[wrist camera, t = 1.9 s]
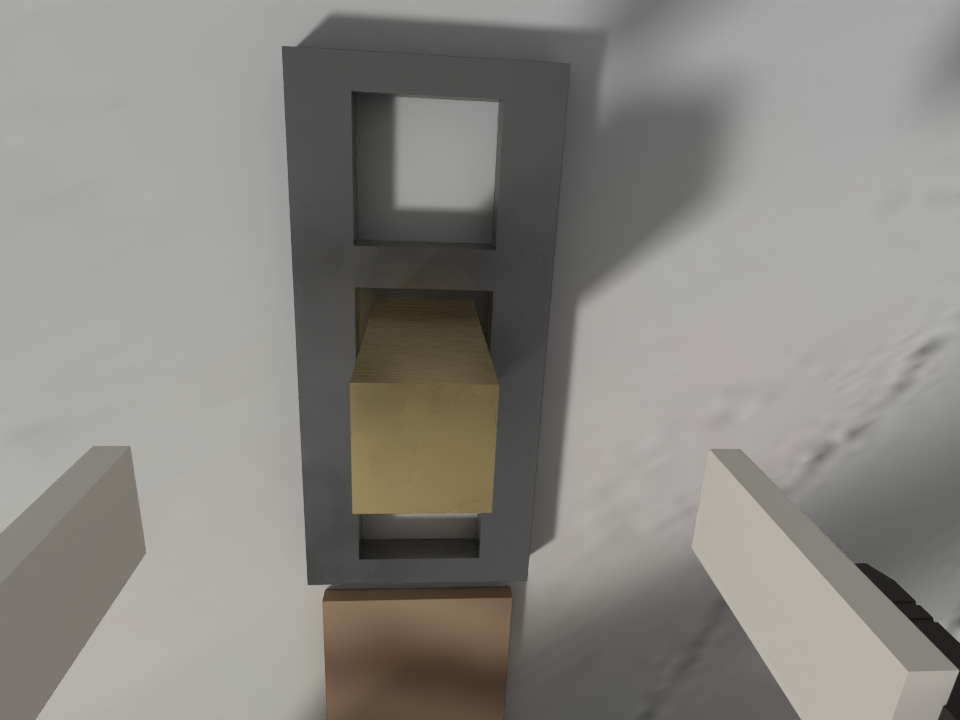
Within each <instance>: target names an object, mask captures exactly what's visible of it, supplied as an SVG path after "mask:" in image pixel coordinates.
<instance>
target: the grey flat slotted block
mask: <svg viewBox="0 0 960 720" xmlns="http://www.w3.org/2000/svg"><path fill="white" fill-rule="evenodd" d="M282 59H283V79H284V100H285V121H286V142H287V163H288V183H289V204H290V225H291V246H292V267H293V287H294V308H295V329H296V350H297V371H298V391H299V412H300V433H301V454H302V475H303V495H304V516H305V537H306V558H307V579H308V585H327V584H384V583H441V582H498V581H527V576H528V564H529V552H530V540H531V528H532V516H533V504H534V492H535V480H536V468H537V456H538V444H539V432H540V420H541V408H542V396H543V384H544V372H545V360H546V348H547V336H548V324H549V312H550V300H551V288H552V276H553V264H554V252H555V240H556V228H557V216H558V204H559V192H560V180H561V168H562V156H563V144H564V132H565V120H566V108H567V95H568V83H569V71H570V64H565V63H549V62H533V61H517V60H501V59H484V58H468V57H452V56H436V55H420V54H403V53H387V52H371V51H355V50H339V49H322V48H306V47H290V46H282ZM355 94H363V95H381V96H399V97H417V98H435V99H453V100H471V101H489V102H499V114H498V133H497V153H496V172H495V191H494V211H493V230H492V244H463V243H433V242H404V241H374V240H358V238H357V172H356V106H355ZM358 287H360V288H397V289H435V290H473V291H489V307H488V327H487V347H488V350H489V353H490V356H491V359H492V363H493V366H494V369H495V372H496V375H497V378H498V381H499V401H498V418H497V435H496V452H495V468H494V485H493V502H492V513H478V520H477V539H406V540H362V514H352V469H351V421H350V380H351V377H352V373H353V370H354V367H355V363H356V360H357V357H358V354H359V304H358Z"/></svg>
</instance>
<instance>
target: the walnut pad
mask: <svg viewBox="0 0 960 720" xmlns="http://www.w3.org/2000/svg"><path fill="white" fill-rule="evenodd" d="M322 602H323V627H324V653H325V678H326V703H327V720H503V717H504V704H505V690H506V677H507V664H508V650H509V637H510V624H511V610H512V593H511V588H510V587H475V588H421V589H367V590H325V592H324V597H323V601H322Z"/></svg>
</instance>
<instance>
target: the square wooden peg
mask: <svg viewBox="0 0 960 720" xmlns="http://www.w3.org/2000/svg"><path fill="white" fill-rule="evenodd" d="M498 401H499V381H498V378H497V375H496V372H495V369H494V366H493V363H492V359H491V356H490V353H489V350H488V347H487V344H486V341H485V337H484V334H483V331H482V328H481V325H480V322H479V319H478V316H477V312H476V309H475V306H474V303H473V300H472V299H454V298H415V297H375V300H374V304H373V307H372V310H371V314H370V317H369V320H368V324H367V327H366V330H365V334H364V337H363V340H362V344H361V347H360V350H359V354H358V357H357V360H356V363H355V367H354V370H353V373H352V377H351V380H350V421H351V469H352V514H415V513H492V502H493V485H494V468H495V452H496V435H497V418H498Z"/></svg>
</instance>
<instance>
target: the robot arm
mask: <svg viewBox="0 0 960 720" xmlns="http://www.w3.org/2000/svg"><path fill="white" fill-rule="evenodd" d="M691 548H692V549H693V551H694V553H695V554H696V556H697V557H698V559H699V560H700V562H701V563H702V565H703V567H704V568H705V570H706V571H707V573H708V574H709V576H710V578H711V579H712V581H713V582H714V584H715V585H716V587H717V589H718V590H719V592H720V593H721V595H722V596H723V598H724V600H725V601H726V603H727V604H728V606H729V607H730V609H731V610H732V612H733V614H734V615H735V617H736V618H737V620H738V621H739V623H740V625H741V626H742V628H743V629H744V631H745V632H746V634H747V636H748V637H749V639H750V640H751V642H752V643H753V645H754V647H755V648H756V650H757V651H758V653H759V654H760V656H761V657H762V659H763V661H764V662H765V664H766V665H767V667H768V668H769V670H770V672H771V673H772V675H773V676H774V678H775V679H776V681H777V683H778V684H779V686H780V687H781V689H782V690H783V692H784V694H785V695H786V697H787V698H788V700H789V701H790V703H791V704H792V706H793V708H794V709H795V711H796V712H797V714H798V715H799V717H800V719H801V720H960V643H959V642H958V641H957V640H956V639H955V638H954V637H953V636H952V635H950V634H949V633H948V632H947V631H946V630H945V629H944V628H943V627H942V626H941V625H940V624H939V623H938V622H934V621H933V617H932V616H931V615H930V614H929V613H928V612H926V611H925V610H924V609H923V608H922V607H921V606H920V605H916V601H915V600H914V599H913V598H912V597H911V596H910V595H909V594H908V593H907V592H906V591H905V590H904V589H903V588H901V587H900V586H899V585H898V584H897V583H896V582H895V581H894V580H892V579H891V578H889V577H887V576H886V575H884V574H883V573H881V572H879V571H878V570H876V569H874V568H873V567H871V566H870V565H868V564H866V563H861V564H854V563H853V562H852V561H851V560H850V559H849V558H848V557H847V556H846V555H845V554H844V553H843V552H842V551H841V550H840V549H839V548H838V547H837V546H836V545H835V544H834V543H833V542H832V541H831V540H830V539H829V538H828V537H827V536H826V535H825V534H824V533H823V532H822V531H821V530H820V529H819V528H818V527H817V526H816V525H815V524H814V523H813V522H812V521H811V520H810V519H809V518H808V517H807V516H806V515H805V514H804V513H803V512H802V511H801V510H800V509H799V508H798V507H797V506H796V505H795V504H794V503H793V502H792V501H791V500H790V499H789V498H788V497H787V496H786V495H785V494H784V493H783V492H782V491H781V490H780V489H779V488H778V487H777V486H776V485H775V484H774V483H773V482H772V481H771V480H770V479H769V478H768V477H767V476H766V475H765V474H764V473H763V471H762V470H761V469H760V468H759V467H758V466H757V465H756V464H755V463H754V462H753V461H752V460H751V459H750V458H749V457H748V456H747V455H746V454H745V453H744V452H743V451H742V450H741V449H710V450H709V455H708V460H707V466H706V471H705V476H704V482H703V487H702V493H701V498H700V503H699V509H698V514H697V519H696V525H695V530H694V535H693V541H692V546H691ZM145 554H146V548H145V541H144V534H143V528H142V521H141V514H140V508H139V501H138V494H137V488H136V481H135V475H134V468H133V461H132V455H131V448H130V446H93V447H92V448H91V449H90V450H89V451H88V452H86V453H85V454H84V455H83V456H82V457H81V458H80V459H79V460H78V461H77V462H76V463H75V464H74V465H73V466H72V467H71V468H70V469H68V470H67V471H66V472H65V473H64V474H63V475H62V476H61V477H60V478H59V479H58V480H57V481H56V482H55V483H54V484H53V485H52V486H51V487H49V488H48V489H47V490H46V491H45V492H44V493H43V494H42V495H41V496H40V497H39V498H38V499H37V500H36V501H35V502H34V503H33V504H31V505H30V506H29V507H28V508H27V509H26V510H25V511H24V512H23V513H22V514H21V515H20V516H19V517H18V518H17V519H16V520H15V521H14V522H12V523H11V524H10V525H9V526H8V527H7V528H6V529H5V530H4V531H3V532H2V533H1V534H0V720H35V719H36V718H37V716H38V715H39V713H40V712H41V710H42V709H43V707H44V706H45V704H46V703H47V701H48V700H49V698H50V697H51V695H52V694H53V692H54V691H55V689H56V688H57V686H58V685H59V683H60V682H61V680H62V679H63V677H64V676H65V674H66V673H67V671H68V670H69V668H70V667H71V665H72V664H73V662H74V661H75V659H76V658H77V656H78V655H79V653H80V652H81V650H82V649H83V647H84V646H85V644H86V643H87V641H88V640H89V638H90V637H91V635H92V633H93V632H94V630H95V629H96V627H97V626H98V624H99V623H100V621H101V620H102V618H103V617H104V615H105V614H106V612H107V611H108V609H109V608H110V606H111V605H112V603H113V602H114V600H115V599H116V597H117V596H118V594H119V593H120V591H121V590H122V588H123V587H124V585H125V584H126V582H127V581H128V579H129V578H130V576H131V575H132V573H133V572H134V570H135V569H136V567H137V566H138V564H139V563H140V561H141V560H142V558H143V557H144V555H145Z"/></svg>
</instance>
